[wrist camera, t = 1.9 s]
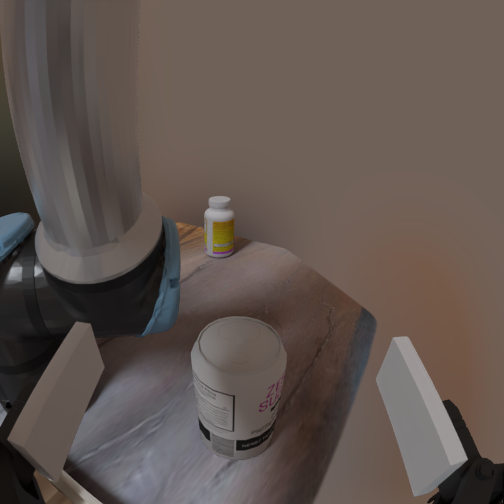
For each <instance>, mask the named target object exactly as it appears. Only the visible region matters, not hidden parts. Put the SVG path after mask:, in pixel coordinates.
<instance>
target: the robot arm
mask: <svg viewBox="0 0 504 504" xmlns="http://www.w3.org/2000/svg"><path fill="white" fill-rule="evenodd" d="M140 7H141V0H0V19H1V21H0V22H1V43H2V54H3V65H4V74H5V80H6V87H7V94H8V100H9V106H10V111H11V116H12V121H13V126H14V130H15V135H16V139H17V143H18V147H19V151H20V155H21V159H22V162H23V166H24V169H25V173H26V176H27V179H28V183H29V186H30V189H31V192H32V195H33V198H34V201H35V204H36V207H37V210H38V213H39V215H40V218H41V222H40V224H39V226H38V228H37V229H34V221H33V220H32V218H31V216H30V215H29V214H27V213H14V214H10V215H6V216H4V217H1V218H0V403H1V405H2V407H3V408H4V410H5V411H6V412H7V416H6V417H5V419H4V421H3V423H2V425H1V427H0V504H46V503H45V501H44V498H43V496H42V493H41V491H40V488H39V485H38V482H37V480H36V478H35V476H34V472H35V469H36V470H37V471H38V472H39V473H40V474H41V475H42V476H44V477H46V478H48V479H51V480H53V481H56V482H58V481H59V478H60V475H61V472H62V469H63V467H64V464H65V461H66V458H67V456H68V453H69V450H70V448H71V445H72V443H73V440H74V438H75V435H76V433H77V430H78V428H79V425H80V423H81V420H82V418H83V416H84V413H85V411H86V408H87V406H88V404H89V401H90V399H91V397H92V395H93V392H94V390H95V388H96V386H97V383H98V381H99V379H100V377H101V374H102V372H103V370H104V368H105V367H104V364H103V361H102V358H101V355H100V352H99V349H98V346H97V343H96V340H95V338H107V337H122V336H136V337H144V336H146V335H147V334H154V333H160V332H165V331H167V330H169V329H170V328H172V326H173V325H174V324H175V322H176V319H177V316H178V310H179V302H180V283H179V279H180V245H179V236H178V230H177V226H176V223H175V222H174V220H172V219H171V218H165V217H163V216H161V213H160V210H159V208H158V206H157V204H156V203H155V201H154V200H153V199H152V198H151V197H150V196H149V195H147V194H146V193H145V192H143V191H142V190H141V177H140V162H139V145H138V144H139V143H138V111H137V68H138V64H137V63H138V39H139V21H140ZM376 382H377V385H378V388H379V391H380V393H381V396H382V399H383V402H384V405H385V407H386V410H387V413H388V416H389V419H390V422H391V425H392V428H393V430H394V434H395V437H396V440H397V443H398V446H399V449H400V452H401V455H402V459H403V462H404V465H405V468H406V472H407V475H408V478H409V481H410V485H411V489H412V492H413V496H414V497H417V496H420V495H423V494H427V493H430V492H431V491H432V490H434V489H435V488H436V487H437V486H438V488H439V492H438V493H437V494H435V495H434V496H433V497H431V498H430V499H429V501H428V502H427V503H430V502H432V501H433V500H434V502H433V504H504V463H503V464H493V462H492V461H491V460H489V459H487V458H482V457H481V456H480V454H479V452H478V450H477V448H476V446H475V443H474V441H473V439H472V437H471V435H470V432H469V430H468V428H467V427H466V424H465V422H464V420H463V419H462V416H461V414H460V412H459V409H458V408H457V407H456V406H455V405H454V404H453V403H452V402H451V401H450V400H445V401H441V399H440V397H439V395H438V393H437V391H436V389H435V387H434V385H433V383H432V381H431V379H430V377H429V375H428V373H427V371H426V369H425V367H424V366H423V364H422V362H421V360H420V358H419V356H418V354H417V353H416V351H415V349H414V347H413V345H412V343H411V341H410V340H409V338H408V337H393V339H392V342H391V344H390V347H389V349H388V352H387V354H386V357H385V359H384V361H383V364H382V366H381V368H380V371H379V373H378V375H377V377H376ZM502 500H503V503H502Z"/></svg>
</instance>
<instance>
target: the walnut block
mask: <svg viewBox="0 0 504 504" xmlns="http://www.w3.org/2000/svg"><path fill="white" fill-rule="evenodd" d="M34 476H35V478H36V480H37V482H38V485H39V488H40V491H41V493H42V496H43V498H44V501H45V503H46V504H74V503H73V502H72V501H71V500H70V499H69V498H68V497H67V496H66V495H65V494H64V493H62V492H61V491H60V490H59V489H58V488H57V487H56V486H55V485H54V484H53V483H52V482H51V481H50V480H49V479H48V478H46V477H44V476H42V475H41V474H40V473H39V472H38V471H37V470H36V469H35V472H34Z"/></svg>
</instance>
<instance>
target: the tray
mask: <svg viewBox="0 0 504 504" xmlns="http://www.w3.org/2000/svg"><path fill="white" fill-rule="evenodd" d="M49 480H50V481H51V482H52V483H53V484H54V485H55V486H56V487H57V488H58V489H59V490H60V491H61V492H62V493H64V494H65V495H66V496H67V497H68V498H69V499H70V500H71V501H72V502H73V503H74V504H102V503H101V502H100V501H99V500H97V499H96V498H95V497H94V496H92V495H91V494H90V493H89V492H87V491H86V490H85V489H84V488H83V487H82V486H80V485H79V484H78V483H77V482H76V481H75V480H74V479H73V478H71V477H70V476H69V475H68V474H67V473H66V472H65V471H64V470H63V469H62V472H61V475H60V478H59V481H58V482H56V481H53V480H51V479H49Z"/></svg>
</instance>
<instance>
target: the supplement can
mask: <svg viewBox="0 0 504 504" xmlns="http://www.w3.org/2000/svg"><path fill="white" fill-rule="evenodd" d="M191 361H192V370H193V379H194V388H195V396H196V404H197V412H198V419H199V426H200V433H201V439H202V441H203V442H204V444H205V445H206V447H207V448H208V449H209V450H210V451H212V452H213V453H214V454H216V455H217V456H220V457H223V458H226V459H229V460H245V459H248V458H251V457H255V456H257V455H258V454H260V453H261V452H262V451H264V450H265V449H266V448H267V446H268V444H269V443H270V441H271V439H272V435H273V430H274V425H275V421H276V416H277V411H278V406H279V401H280V396H281V391H282V386H283V381H284V376H285V371H286V364H287V353H286V351H285V349H284V346H283V344H282V341H281V339H280V337H279V334H278V332H277V331H275V330H274V329H273V328H272V327H271V326H270V325H269V324H267V323H265V322H263V321H261V320H259V319H254V318H250V317H246V316H231V317H226V318H221V319H218V320H216V321H214V322H212V323H209V324H208V325H207V326H206V327H205V328H204V329H203V330H202V331H201V332H200V334H199V337H198V339H197V340H196V342H195V344H194V346H193V349H192V351H191Z"/></svg>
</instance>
